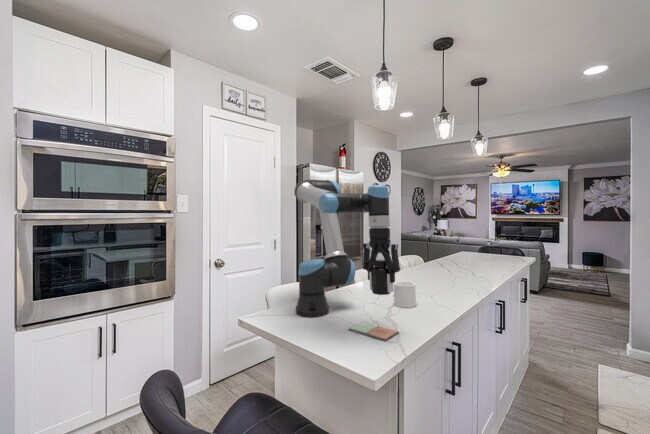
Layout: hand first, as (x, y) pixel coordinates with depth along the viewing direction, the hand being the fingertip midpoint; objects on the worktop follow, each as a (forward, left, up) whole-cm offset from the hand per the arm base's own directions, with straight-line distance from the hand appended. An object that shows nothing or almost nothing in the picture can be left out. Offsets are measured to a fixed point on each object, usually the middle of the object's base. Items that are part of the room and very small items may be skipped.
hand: (381, 290), depth 107 cm
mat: (-3, -1, -16) cm, 16 cm away
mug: (-10, +38, -16) cm, 42 cm away
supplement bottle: (0, 0, -1) cm, 1 cm away
